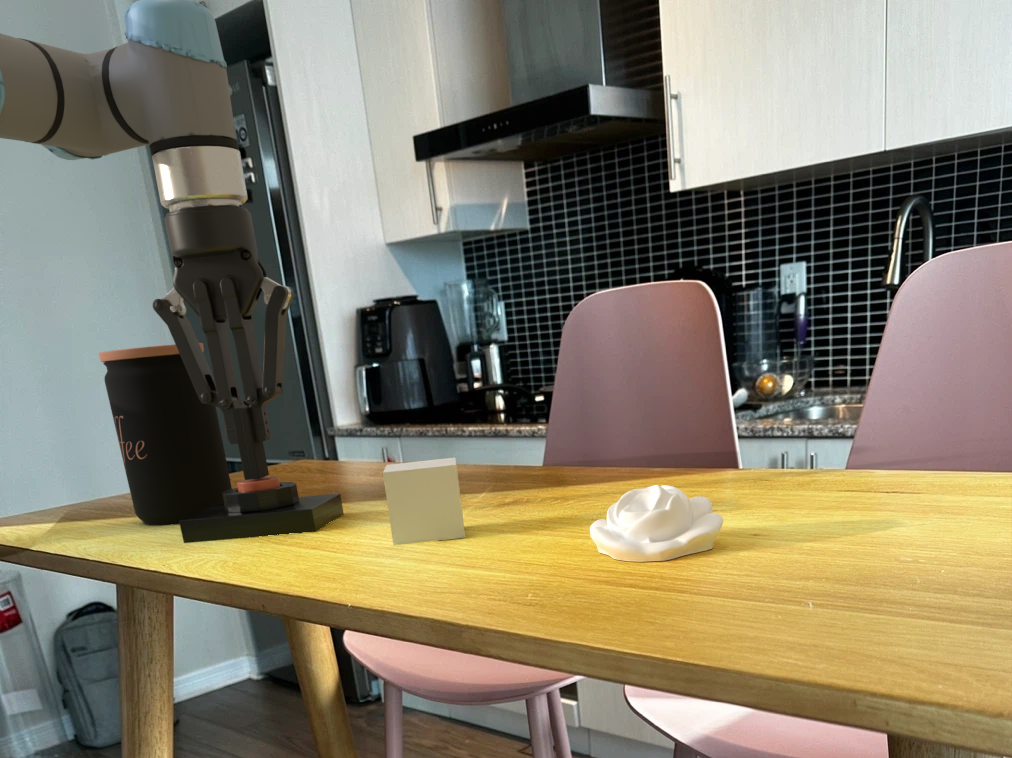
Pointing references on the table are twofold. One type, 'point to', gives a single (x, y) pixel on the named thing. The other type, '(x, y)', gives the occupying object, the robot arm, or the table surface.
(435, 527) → the beige cube
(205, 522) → the control block
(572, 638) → the table surface
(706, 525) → the rose
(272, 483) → the button
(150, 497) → the coffee jar
